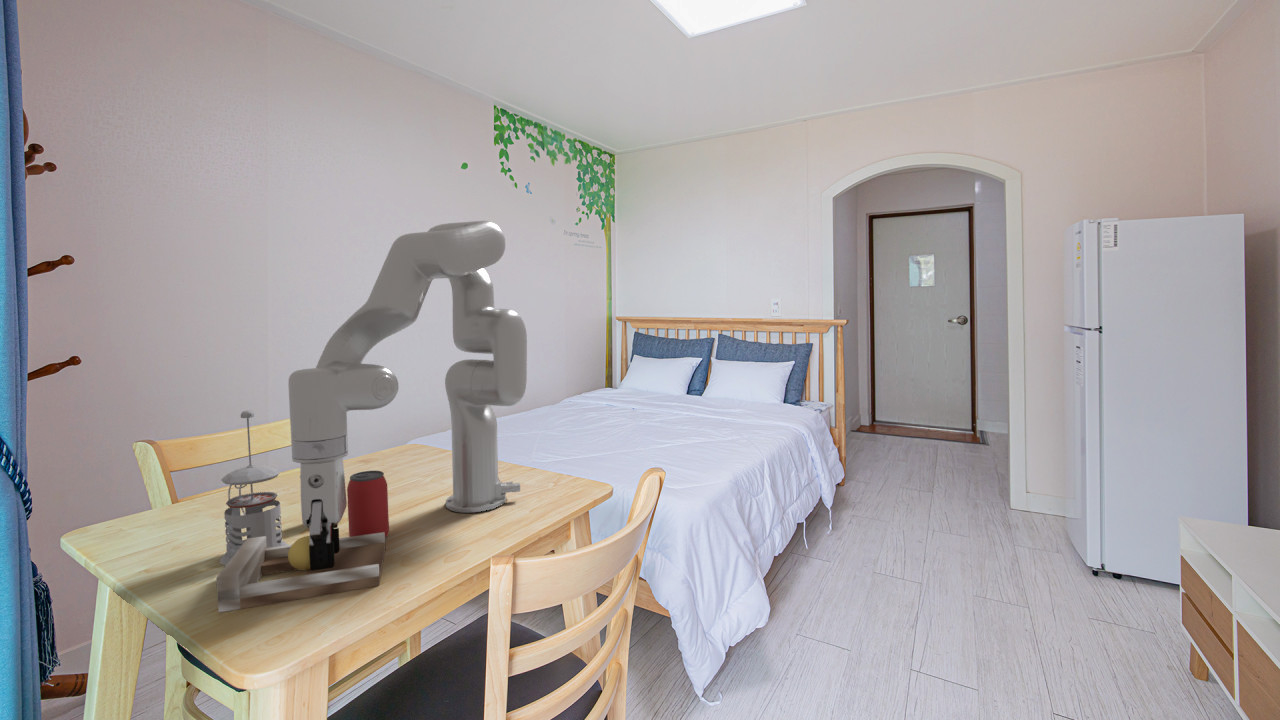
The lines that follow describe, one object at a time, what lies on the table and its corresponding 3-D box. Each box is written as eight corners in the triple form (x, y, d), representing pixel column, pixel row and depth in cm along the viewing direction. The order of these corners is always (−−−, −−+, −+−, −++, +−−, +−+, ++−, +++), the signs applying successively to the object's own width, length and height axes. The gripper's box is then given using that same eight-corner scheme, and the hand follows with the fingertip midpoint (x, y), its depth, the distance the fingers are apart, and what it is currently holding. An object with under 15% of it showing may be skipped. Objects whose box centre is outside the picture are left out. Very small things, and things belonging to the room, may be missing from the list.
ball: (333, 550, 87) (318, 525, 86) (329, 564, 83) (313, 538, 81) (301, 566, 86) (285, 540, 84) (294, 581, 81) (278, 555, 80)
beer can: (358, 531, 102) (356, 469, 101) (394, 530, 102) (392, 469, 101) (342, 546, 95) (339, 480, 94) (380, 545, 96) (378, 479, 95)
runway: (385, 548, 94) (384, 521, 94) (379, 585, 81) (377, 553, 81) (249, 568, 87) (247, 538, 86) (218, 612, 74) (216, 577, 73)
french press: (235, 571, 86) (226, 418, 84) (204, 555, 92) (194, 411, 90) (300, 548, 94) (293, 408, 92) (267, 535, 100) (260, 403, 98)
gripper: (340, 458, 77) (345, 581, 78) (353, 434, 92) (358, 537, 94) (278, 464, 74) (285, 590, 75) (303, 438, 89) (308, 543, 91)
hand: (325, 559), depth 84 cm, fingers closed on ball, 4 cm apart
